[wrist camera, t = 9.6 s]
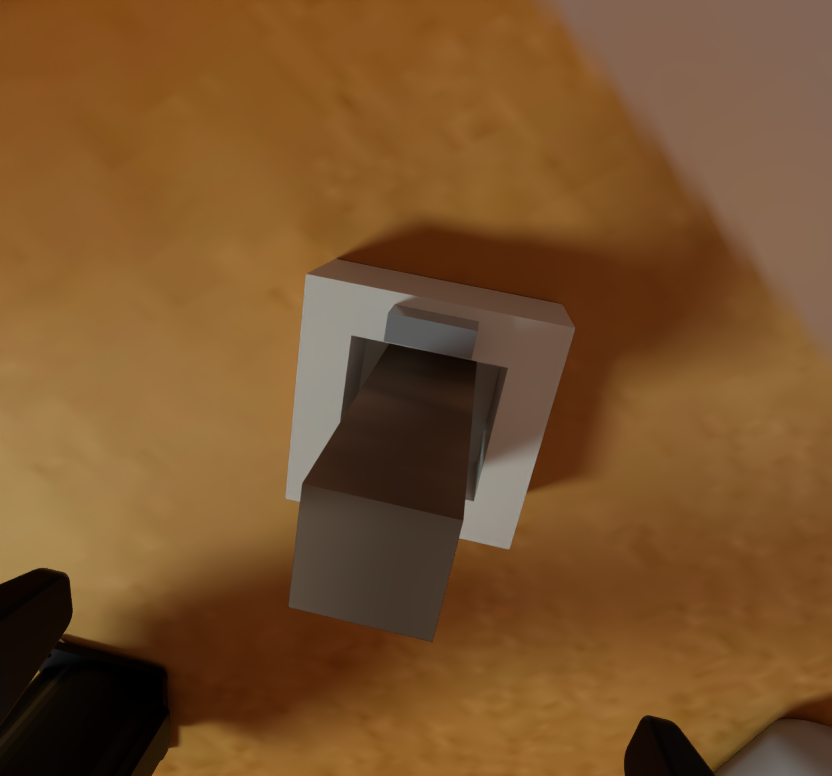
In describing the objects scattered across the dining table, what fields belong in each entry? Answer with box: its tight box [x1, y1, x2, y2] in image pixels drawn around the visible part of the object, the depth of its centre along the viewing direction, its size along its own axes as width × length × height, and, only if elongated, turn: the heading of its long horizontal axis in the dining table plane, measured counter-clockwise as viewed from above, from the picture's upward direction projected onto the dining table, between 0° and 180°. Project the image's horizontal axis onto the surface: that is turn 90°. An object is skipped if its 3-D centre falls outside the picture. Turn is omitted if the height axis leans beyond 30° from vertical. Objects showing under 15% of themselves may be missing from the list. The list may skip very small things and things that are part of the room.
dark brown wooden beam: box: [288, 343, 477, 642], centre depth 14 cm, size 3×3×9 cm
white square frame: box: [285, 259, 575, 549], centre depth 17 cm, size 8×8×4 cm
